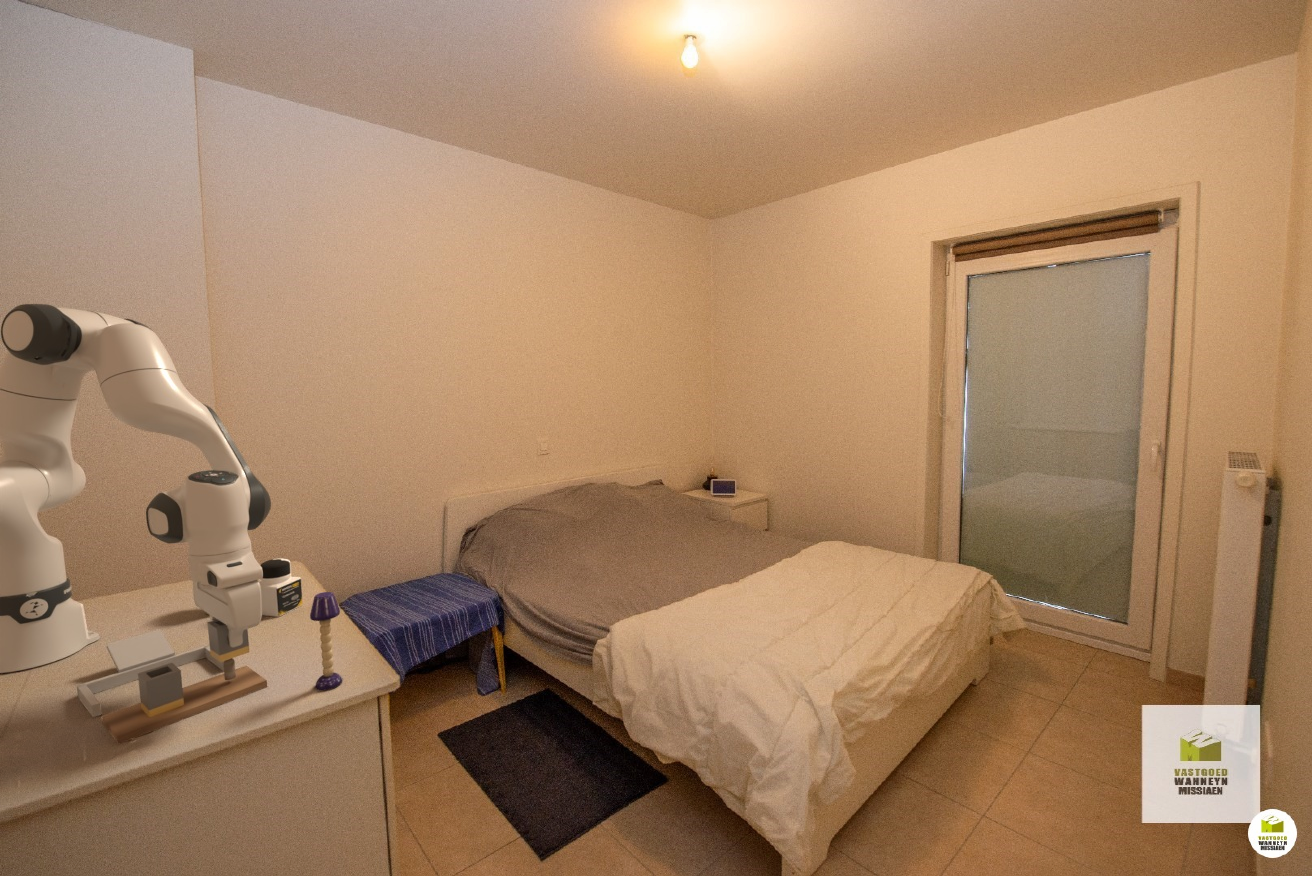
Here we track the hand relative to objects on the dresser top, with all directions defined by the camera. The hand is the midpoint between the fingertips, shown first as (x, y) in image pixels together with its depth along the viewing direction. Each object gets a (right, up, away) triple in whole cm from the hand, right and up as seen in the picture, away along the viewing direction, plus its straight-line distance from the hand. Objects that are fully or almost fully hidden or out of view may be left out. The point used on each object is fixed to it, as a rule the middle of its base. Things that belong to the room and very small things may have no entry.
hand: (228, 640), depth 103 cm
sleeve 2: (0, -2, 0) cm, 2 cm away
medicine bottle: (-14, -5, +35) cm, 38 cm away
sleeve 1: (-6, -8, -7) cm, 12 cm away
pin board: (-4, -9, -4) cm, 11 cm away
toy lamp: (+16, -9, +2) cm, 19 cm away
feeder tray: (-18, -8, +5) cm, 20 cm away
